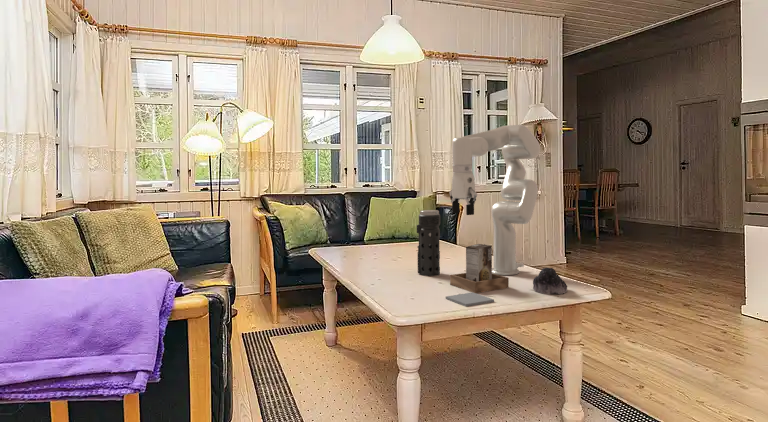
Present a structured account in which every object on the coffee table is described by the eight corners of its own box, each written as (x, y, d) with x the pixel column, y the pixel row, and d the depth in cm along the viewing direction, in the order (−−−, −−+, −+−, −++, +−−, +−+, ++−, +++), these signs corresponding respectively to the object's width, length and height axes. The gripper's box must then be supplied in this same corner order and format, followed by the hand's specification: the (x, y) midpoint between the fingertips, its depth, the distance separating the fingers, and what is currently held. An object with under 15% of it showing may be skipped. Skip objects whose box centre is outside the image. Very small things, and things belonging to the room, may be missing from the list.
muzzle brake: (417, 276, 218) (441, 276, 218) (417, 211, 216) (441, 211, 216) (416, 271, 228) (439, 271, 228) (415, 209, 225) (439, 209, 225)
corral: (482, 280, 209) (482, 270, 209) (508, 288, 195) (508, 277, 194) (450, 284, 202) (450, 274, 201) (475, 293, 187) (475, 282, 187)
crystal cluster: (553, 287, 198) (550, 262, 198) (577, 292, 186) (574, 265, 185) (524, 293, 194) (521, 267, 193) (547, 298, 181) (544, 271, 181)
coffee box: (478, 283, 204) (478, 243, 202) (492, 285, 199) (492, 245, 198) (465, 287, 197) (465, 246, 196) (479, 289, 193) (479, 247, 191)
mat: (472, 294, 186) (472, 292, 186) (494, 301, 175) (494, 299, 175) (445, 298, 180) (445, 296, 180) (465, 306, 169) (465, 304, 169)
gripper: (483, 169, 189) (484, 215, 191) (458, 169, 205) (458, 211, 206) (467, 170, 186) (467, 216, 188) (442, 170, 202) (442, 212, 203)
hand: (462, 213), depth 197 cm, fingers open, 9 cm apart
